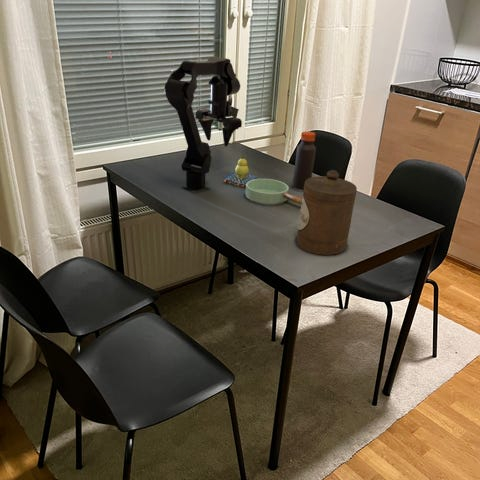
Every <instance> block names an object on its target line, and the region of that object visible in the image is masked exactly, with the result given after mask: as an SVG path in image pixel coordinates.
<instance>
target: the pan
mask: <svg viewBox="0 0 480 480" xmlns="http://www.w3.org/2000/svg"><path fill="white" fill-rule="evenodd" d="M289 189H290V188H289V185H288V184H286V183H285V182H284V181H280V180H279V179H278V180H277V179H274V178H273V179H272V178H258V179H254V180H250V181H249V182H247V184H246V186H245V193H244V195H245V198H247V199H249V200H250V201H252V202H255V203H259V204H265V205H274V204H275V205H276V204H277V205H278V204H282V203H285V202H286V201H288V199H285V198H284V197H283V194H284V193H289Z"/></svg>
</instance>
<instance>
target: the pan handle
mask: <svg viewBox="0 0 480 480" xmlns="http://www.w3.org/2000/svg"><path fill="white" fill-rule="evenodd" d="M283 197H284V198H285V199H287V201H290V202H293V203H295V204H298V205H300V206H301V205H302V199H303V197H300V196H297V195H294V194H292V193H289V192H288V193H284V194H283Z"/></svg>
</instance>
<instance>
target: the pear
mask: <svg viewBox="0 0 480 480" xmlns="http://www.w3.org/2000/svg"><path fill="white" fill-rule="evenodd" d="M234 172H236V174H237V178H240V179H245V178H246V175H249V172H250V171H249V166H248V161H247V159H246V158H245V157H244V155H242V156H241V158H240V159H238V160H237V165H236V166H235V169H234Z"/></svg>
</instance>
